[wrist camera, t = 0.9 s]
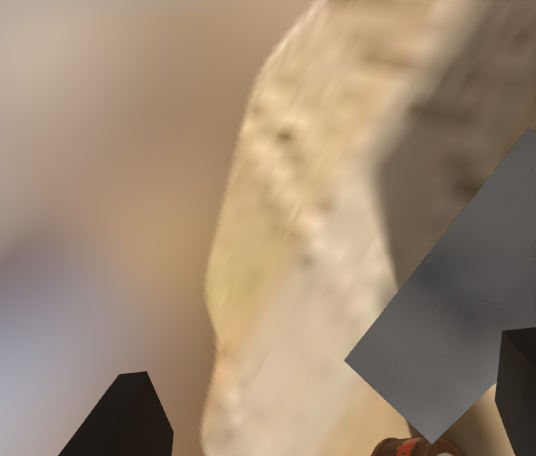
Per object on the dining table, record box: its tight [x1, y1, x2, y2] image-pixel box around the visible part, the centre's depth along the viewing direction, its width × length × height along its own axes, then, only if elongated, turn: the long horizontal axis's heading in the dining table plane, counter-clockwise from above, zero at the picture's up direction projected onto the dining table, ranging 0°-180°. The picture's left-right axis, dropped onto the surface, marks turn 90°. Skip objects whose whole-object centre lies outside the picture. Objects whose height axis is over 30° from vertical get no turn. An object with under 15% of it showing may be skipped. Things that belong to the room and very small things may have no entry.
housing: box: [344, 128, 536, 444], centre depth 18 cm, size 4×10×7 cm, turn 148°
